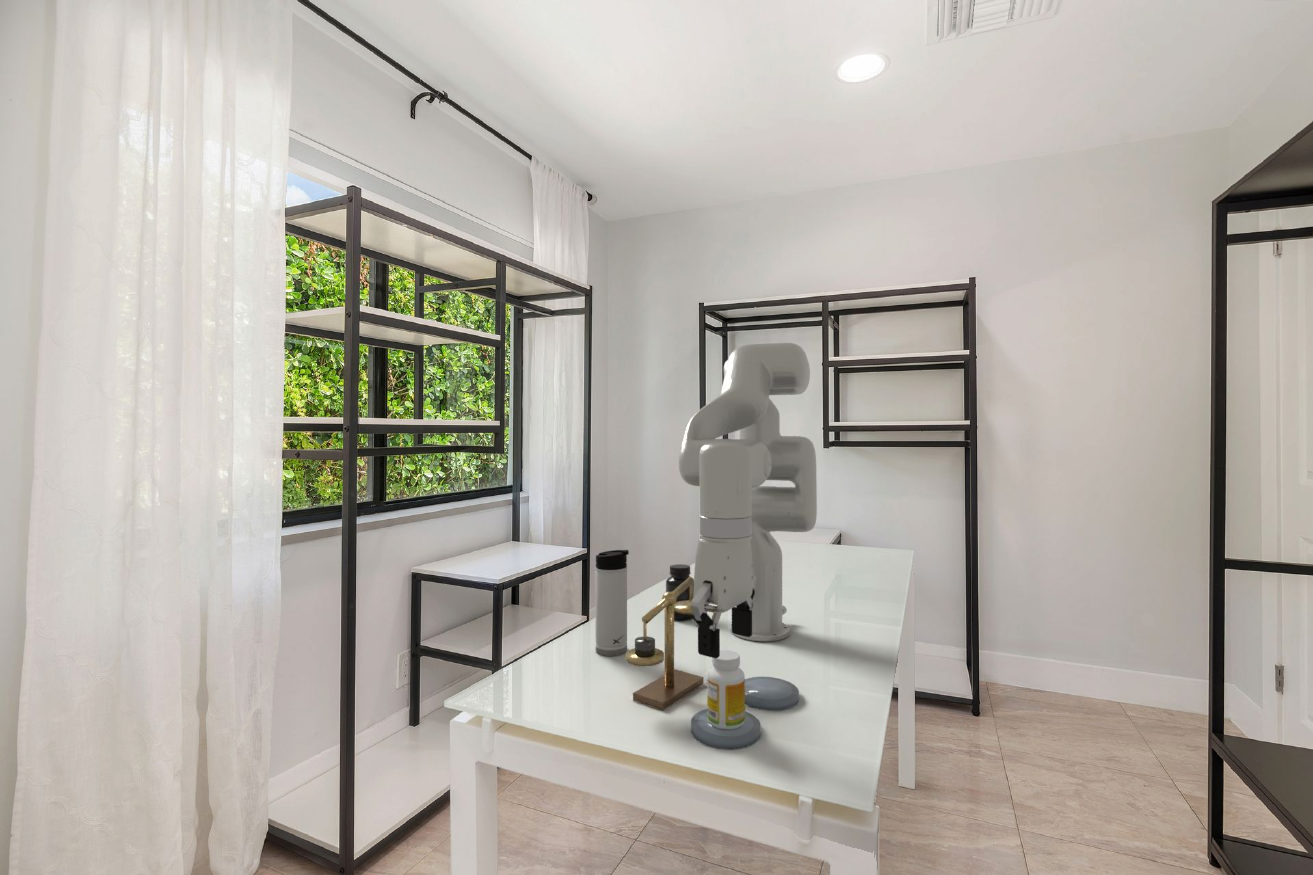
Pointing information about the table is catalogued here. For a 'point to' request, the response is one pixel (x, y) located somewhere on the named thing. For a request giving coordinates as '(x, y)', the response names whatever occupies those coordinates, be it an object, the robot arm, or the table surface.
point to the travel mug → (611, 602)
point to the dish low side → (725, 732)
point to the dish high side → (770, 693)
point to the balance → (646, 654)
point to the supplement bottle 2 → (726, 691)
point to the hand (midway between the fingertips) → (726, 644)
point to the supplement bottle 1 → (676, 579)
